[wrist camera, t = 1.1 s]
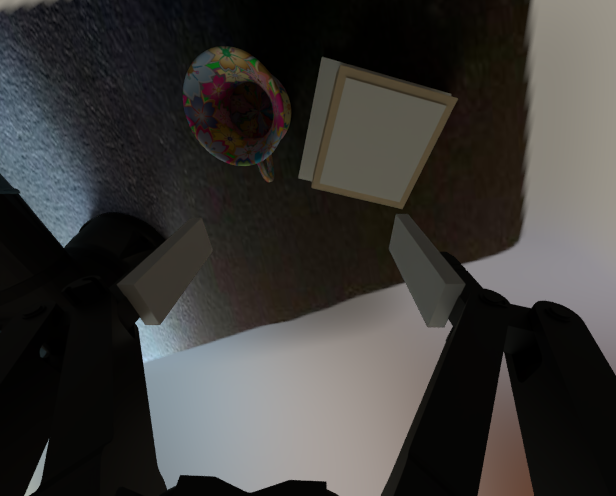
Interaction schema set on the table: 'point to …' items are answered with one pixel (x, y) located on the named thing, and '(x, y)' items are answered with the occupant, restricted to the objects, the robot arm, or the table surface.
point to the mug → (236, 107)
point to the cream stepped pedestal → (370, 133)
